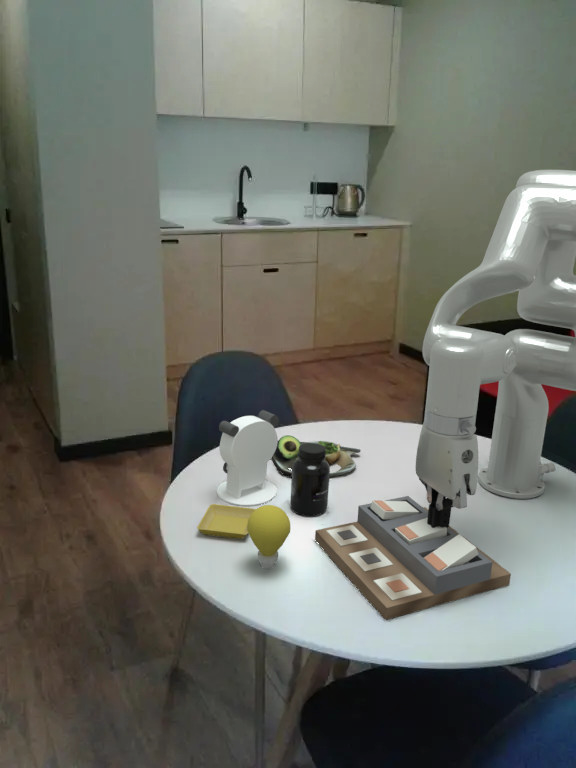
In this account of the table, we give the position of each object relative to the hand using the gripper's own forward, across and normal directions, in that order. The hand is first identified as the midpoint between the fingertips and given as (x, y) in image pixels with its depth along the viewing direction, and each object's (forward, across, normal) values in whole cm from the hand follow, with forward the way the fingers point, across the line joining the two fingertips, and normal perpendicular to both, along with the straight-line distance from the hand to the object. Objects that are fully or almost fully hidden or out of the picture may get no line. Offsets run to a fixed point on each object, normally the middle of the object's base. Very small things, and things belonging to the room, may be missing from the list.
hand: (437, 526), depth 107 cm
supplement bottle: (+6, +22, +12) cm, 26 cm away
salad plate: (+6, +40, +3) cm, 40 cm away
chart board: (+5, 0, +5) cm, 7 cm away
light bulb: (+5, +8, +26) cm, 28 cm away
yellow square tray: (+6, +21, +28) cm, 35 cm away
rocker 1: (0, +8, +3) cm, 8 cm away
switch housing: (+3, 0, +3) cm, 5 cm away
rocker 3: (0, -7, +3) cm, 8 cm away
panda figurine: (+6, +32, +20) cm, 38 cm away
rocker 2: (0, 0, +3) cm, 3 cm away
